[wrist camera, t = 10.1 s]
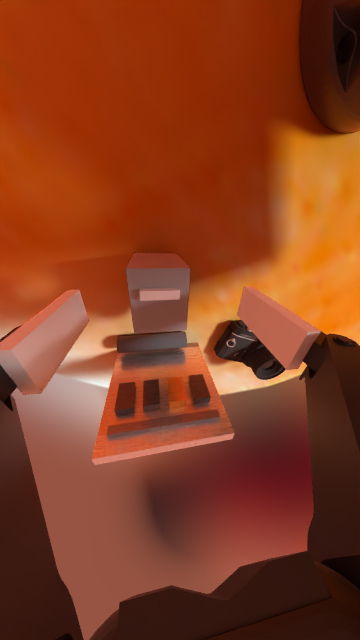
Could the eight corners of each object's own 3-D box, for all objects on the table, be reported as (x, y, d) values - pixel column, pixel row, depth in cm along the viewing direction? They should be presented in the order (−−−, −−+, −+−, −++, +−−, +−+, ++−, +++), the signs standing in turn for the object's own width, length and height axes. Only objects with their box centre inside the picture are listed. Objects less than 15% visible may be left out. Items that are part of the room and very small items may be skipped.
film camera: (214, 375, 24) (274, 341, 19) (205, 336, 29) (250, 301, 24) (263, 391, 30) (320, 369, 25) (249, 356, 35) (292, 332, 30)
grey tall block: (134, 252, 19) (124, 270, 11) (176, 253, 19) (192, 270, 12) (139, 306, 22) (135, 346, 15) (175, 304, 23) (187, 342, 16)
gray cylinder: (121, 345, 25) (118, 356, 23) (118, 333, 24) (115, 343, 22) (183, 340, 26) (186, 350, 24) (184, 328, 25) (187, 337, 23)
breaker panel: (117, 344, 25) (88, 454, 13) (197, 338, 27) (236, 427, 15) (121, 363, 27) (100, 473, 15) (195, 356, 29) (228, 447, 17)
